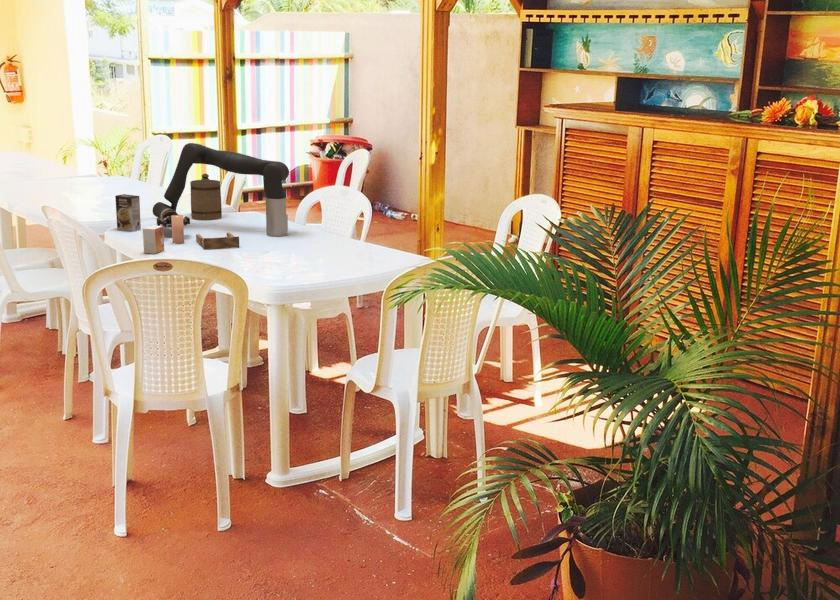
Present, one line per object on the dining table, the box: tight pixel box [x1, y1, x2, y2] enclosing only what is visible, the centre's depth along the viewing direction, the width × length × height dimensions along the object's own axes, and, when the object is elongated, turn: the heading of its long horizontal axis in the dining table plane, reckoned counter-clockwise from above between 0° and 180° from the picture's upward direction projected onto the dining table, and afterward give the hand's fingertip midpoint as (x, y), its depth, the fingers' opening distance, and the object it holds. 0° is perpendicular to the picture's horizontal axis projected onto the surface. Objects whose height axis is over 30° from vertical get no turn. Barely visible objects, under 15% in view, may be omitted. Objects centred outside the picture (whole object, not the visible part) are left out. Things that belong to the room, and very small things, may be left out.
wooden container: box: [189, 173, 223, 221], centre depth 471 cm, size 15×15×22 cm
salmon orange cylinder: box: [171, 214, 185, 245], centre depth 414 cm, size 5×5×12 cm
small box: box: [142, 225, 165, 255], centre depth 396 cm, size 8×6×10 cm
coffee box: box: [115, 193, 142, 232], centre depth 438 cm, size 9×6×16 cm
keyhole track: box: [195, 232, 240, 251], centre depth 414 cm, size 15×18×5 cm
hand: (175, 223), depth 418 cm, fingers open, 8 cm apart
